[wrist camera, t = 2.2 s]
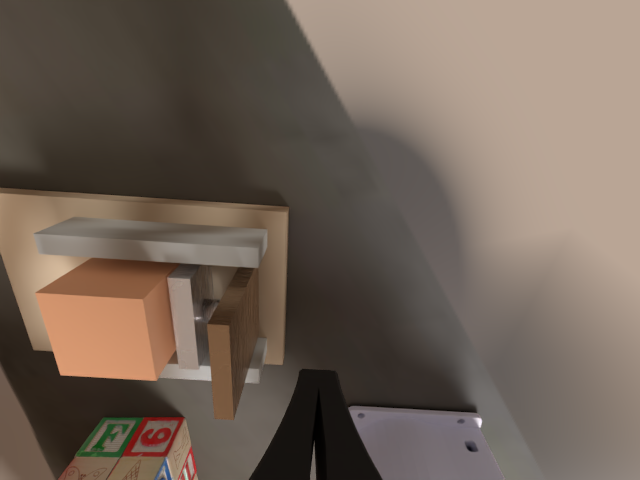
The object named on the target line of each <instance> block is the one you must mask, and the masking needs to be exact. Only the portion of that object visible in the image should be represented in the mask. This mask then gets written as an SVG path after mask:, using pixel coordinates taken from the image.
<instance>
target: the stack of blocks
mask: <svg viewBox="0 0 640 480" xmlns="http://www.w3.org/2000/svg"><path fill="white" fill-rule="evenodd" d="M196 471H197V470H196V465H195V461H194V456H193V452H192V448H191V441H190V437H189V432H188V428H187V423H186V419H185V418H184V417H145V418H107V417H104V418H103V419H102V420H101V421H100V423H99V424H98V425H97V427H96V428H95V429H94V431H93V432H92V433H91V434H90V436H89V437H88V438H87V439H86V441H85V442H84V444H83V445H82V446H81V448H80V449H79V450H78V452H77V453H76V455H75V457H74V459H73V460H72V462H71V463H70V464H69V465H68V467H67V468H66V469H65V471H64V472H63V473H62V475H61V476H60V477H59V479H58V480H198V478H197V474H196Z"/></svg>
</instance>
